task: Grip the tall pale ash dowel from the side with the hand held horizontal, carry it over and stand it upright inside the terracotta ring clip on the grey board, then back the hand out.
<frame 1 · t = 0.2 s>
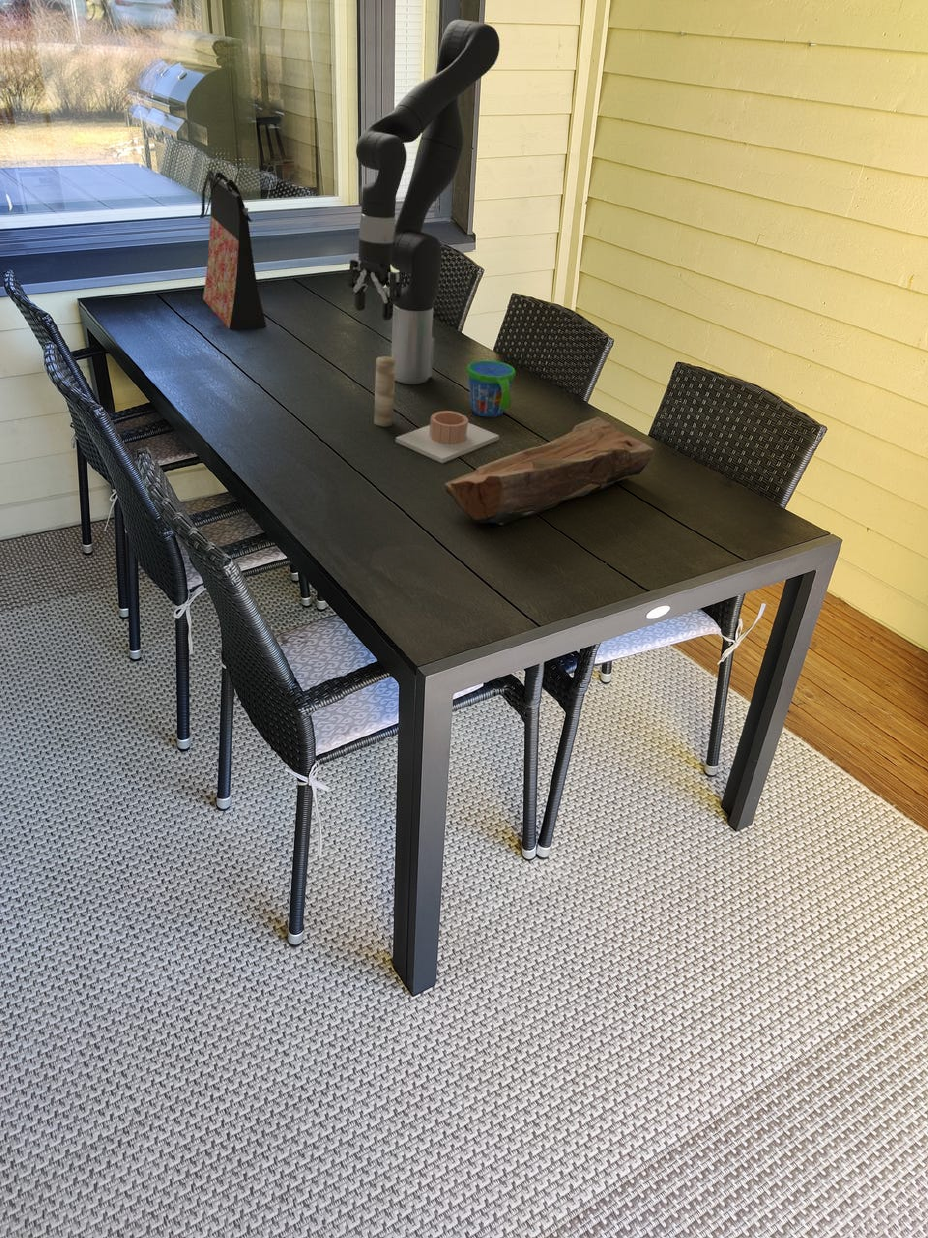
hand: (373, 314, 215), 18 cm above the table, tool pointing down, fingers open, 8 cm apart
stand board: (447, 440, 206), on the table
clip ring: (448, 436, 205), resting on stand board
ash dowel: (383, 422, 211), on the table
snack cup: (486, 412, 221), on the table
log: (545, 497, 189), on the table
gift bag: (233, 315, 261), on the table
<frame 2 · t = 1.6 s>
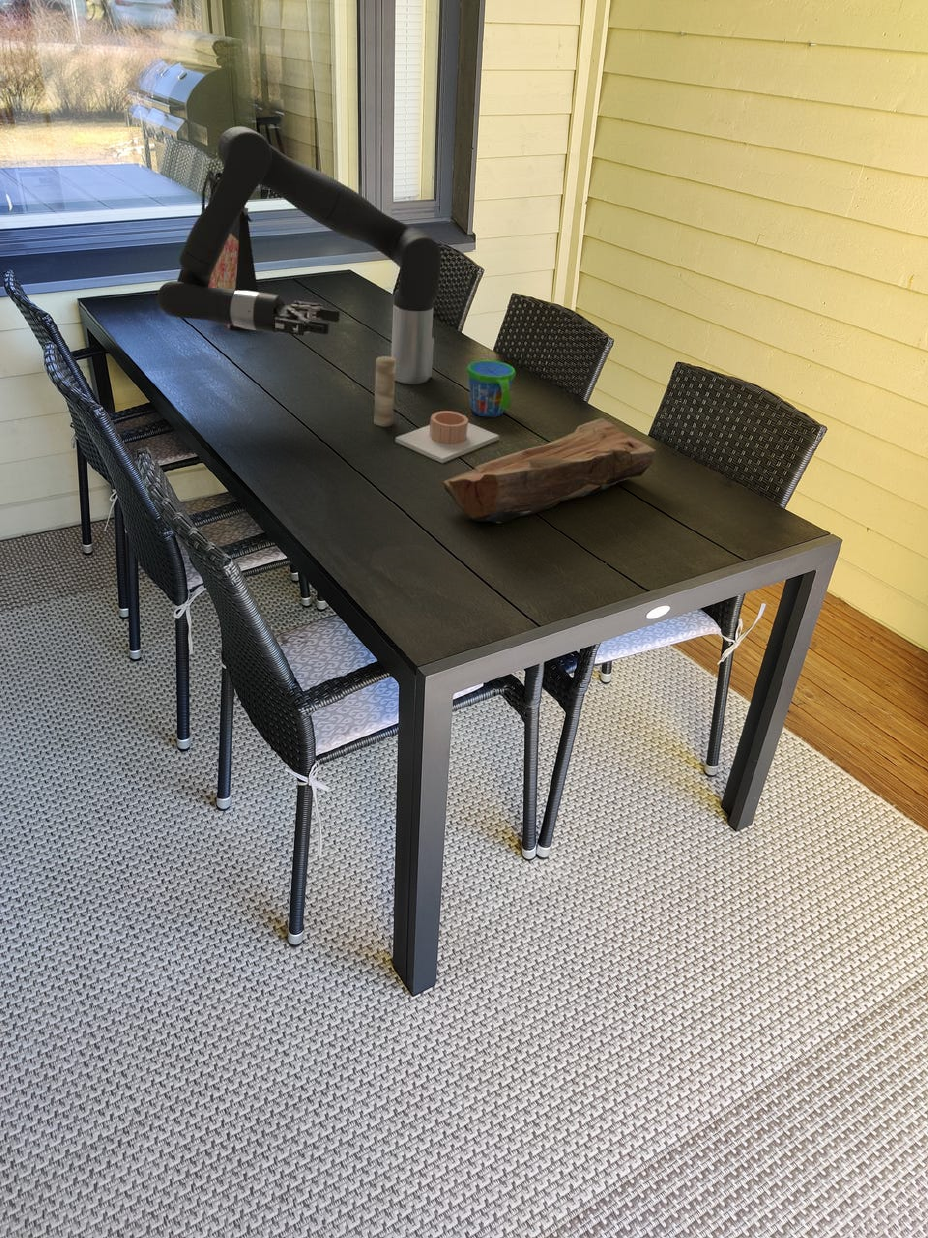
hand: (334, 322, 200), 20 cm above the table, tool horizontal, fingers open, 8 cm apart
nothing on the table moved.
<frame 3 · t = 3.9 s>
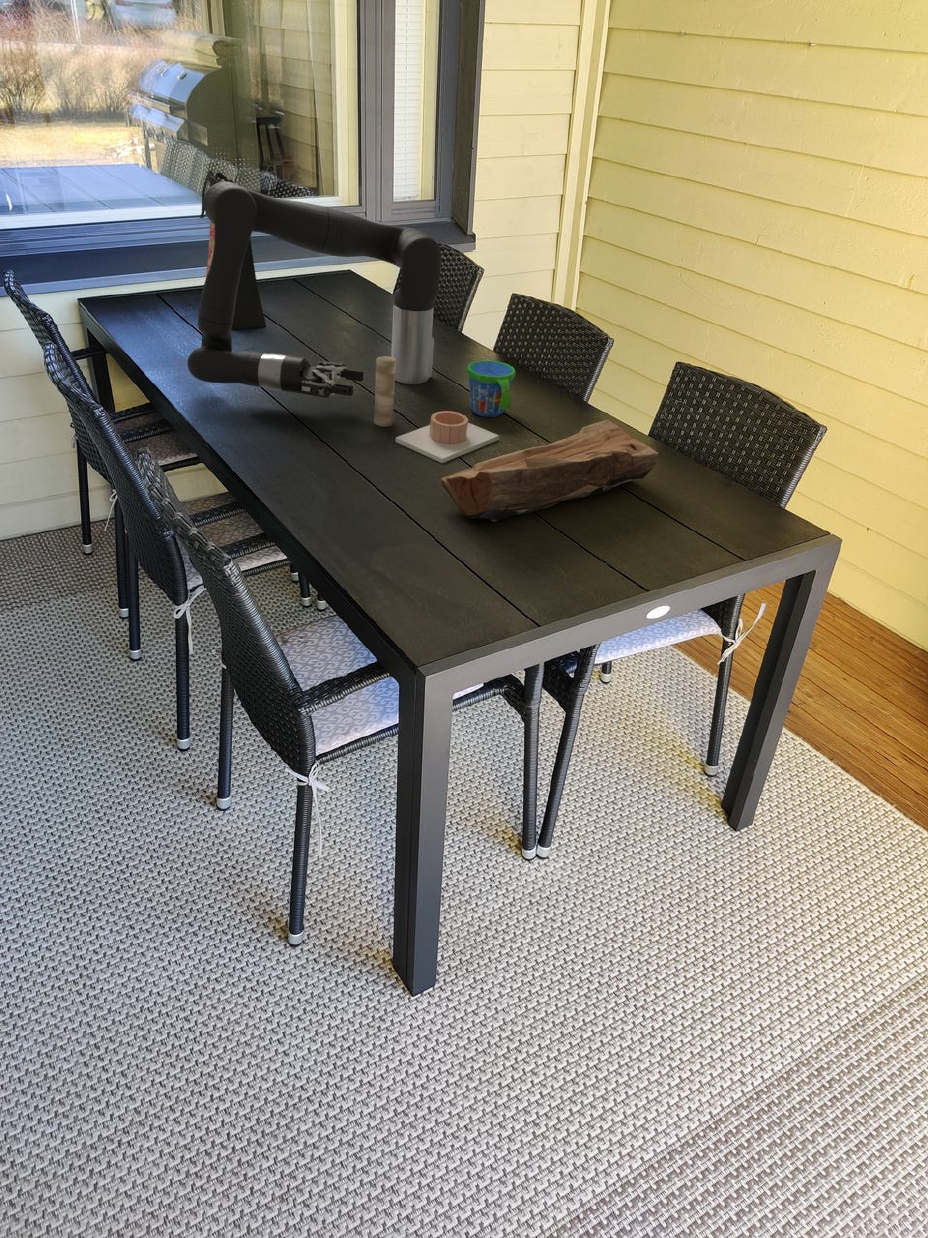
hand: (358, 383, 207), 8 cm above the table, tool horizontal, fingers open, 8 cm apart
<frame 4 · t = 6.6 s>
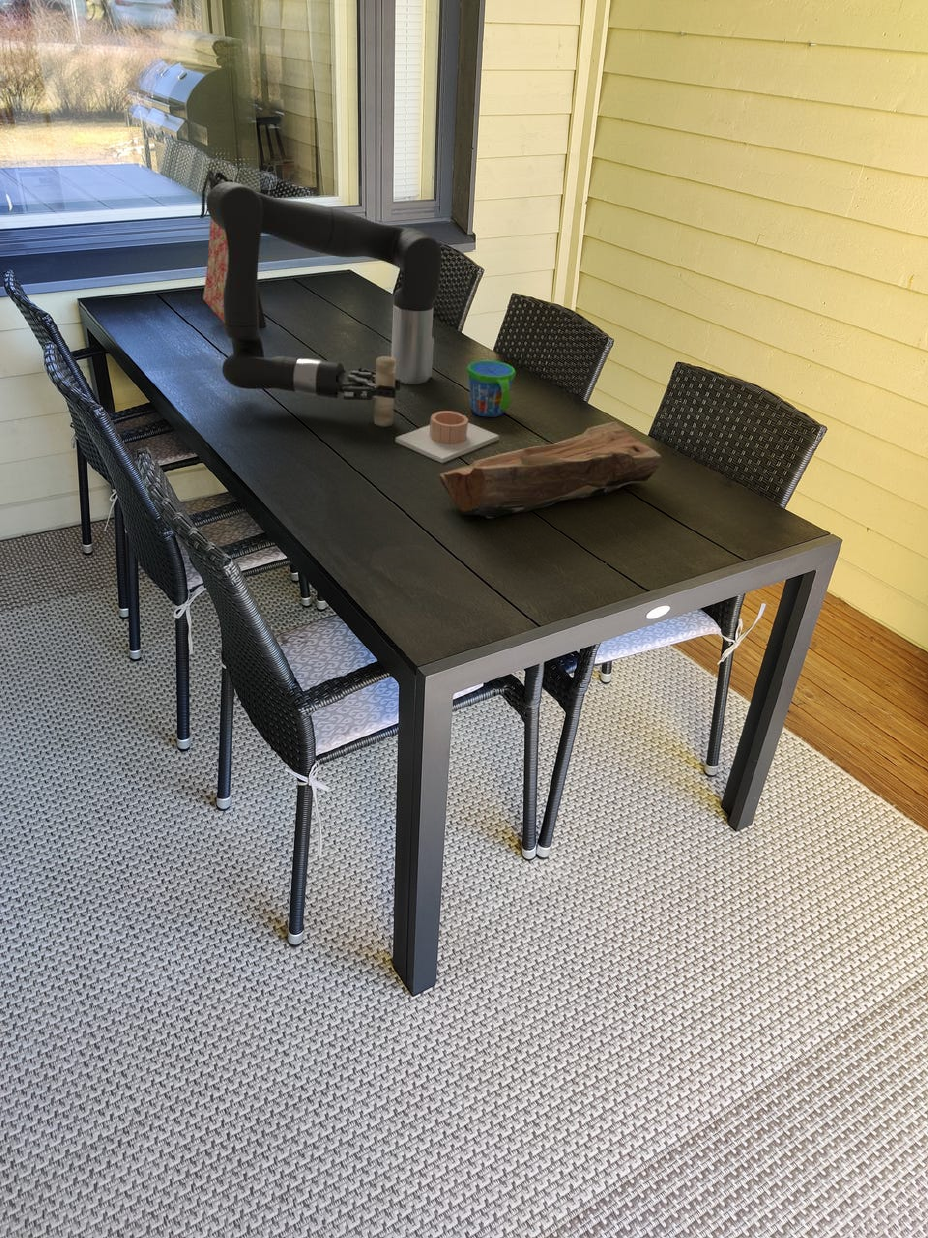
hand: (397, 388, 206), 8 cm above the table, tool horizontal, fingers closed on ash dowel, 4 cm apart
ash dowel: (383, 422, 211), on the table, touching gripper
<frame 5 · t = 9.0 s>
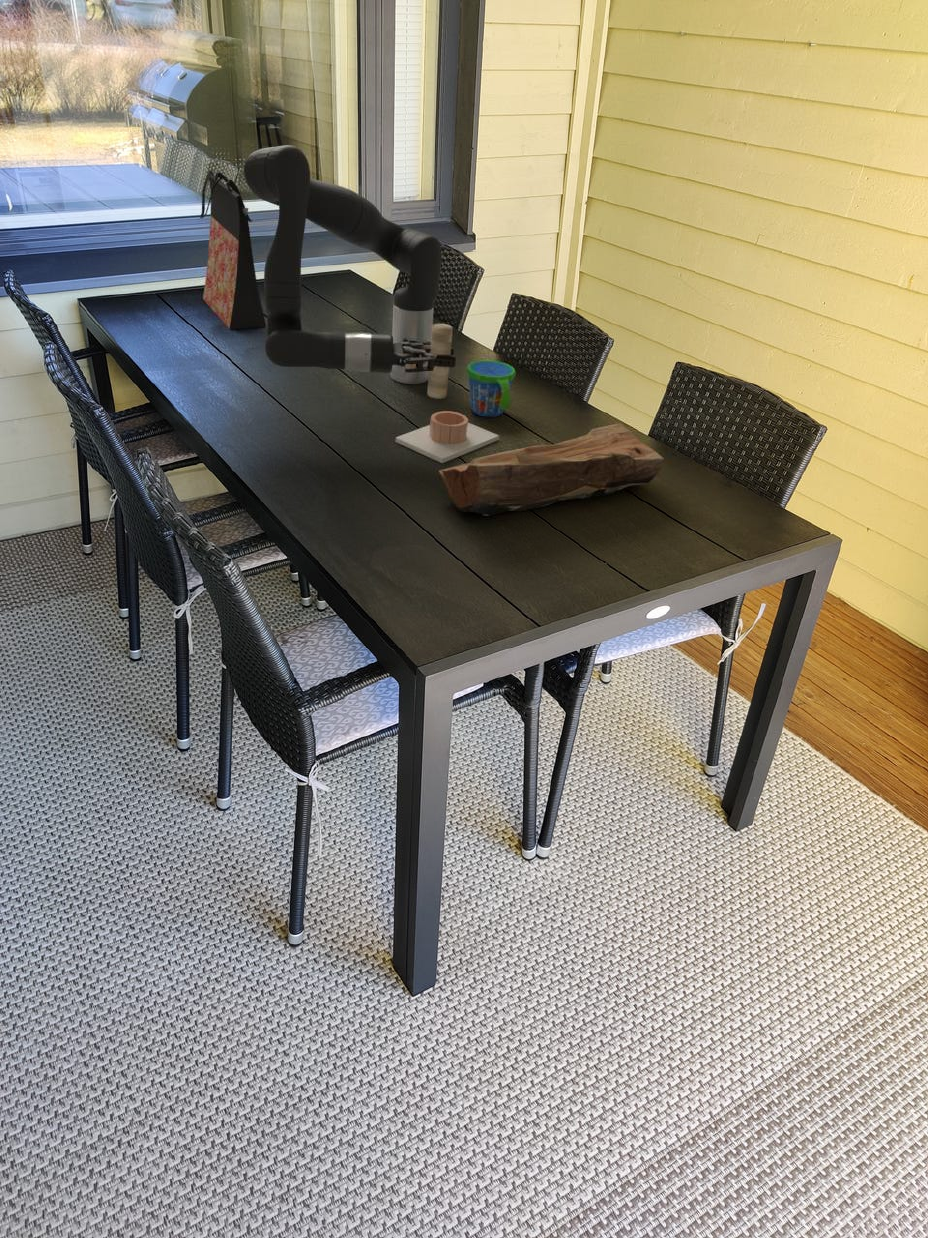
hand: (453, 357, 196), 18 cm above the table, tool horizontal, fingers closed on ash dowel, 4 cm apart
ash dowel: (436, 394, 200), point 10 cm above the table, touching gripper
when the fingers open (10 cm above the table, at t = 11.8 s): ash dowel drops 1 cm, resting on stand board.
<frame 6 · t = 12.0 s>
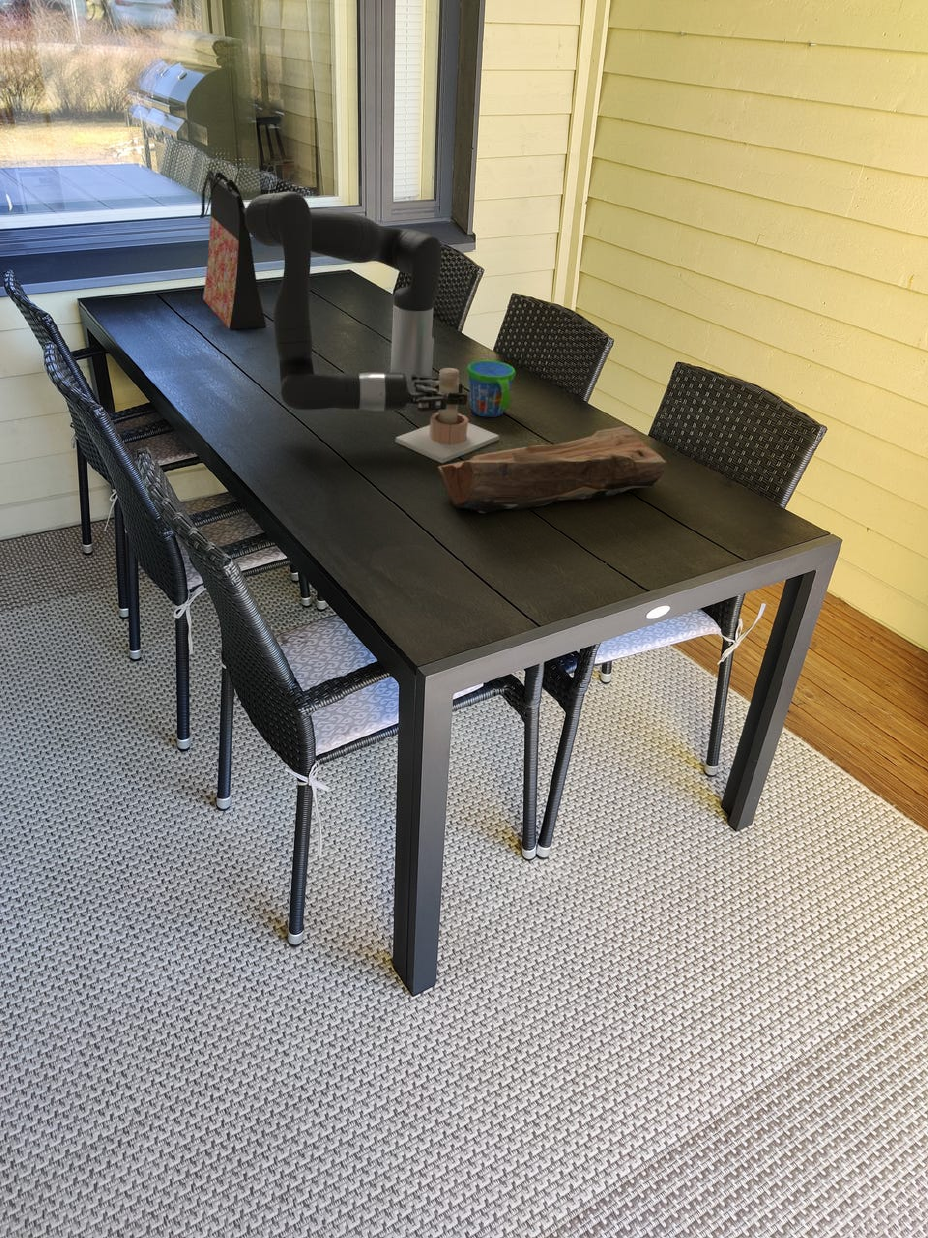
hand: (464, 393, 200), 10 cm above the table, tool horizontal, fingers open, 5 cm apart
ash dowel: (447, 436, 205), point 1 cm above the table, touching stand board
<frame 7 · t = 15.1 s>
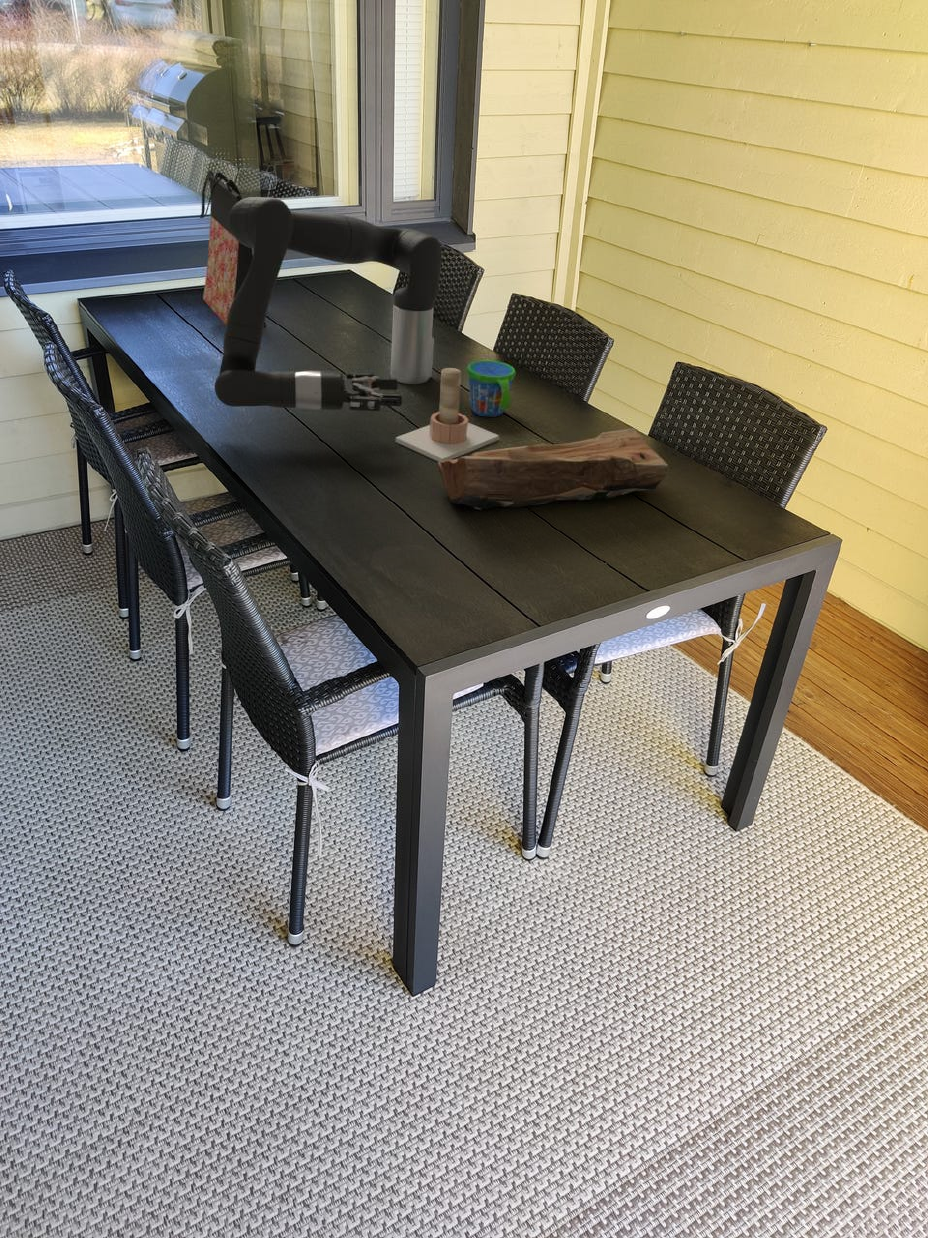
hand: (399, 392, 198), 11 cm above the table, tool horizontal, fingers open, 8 cm apart
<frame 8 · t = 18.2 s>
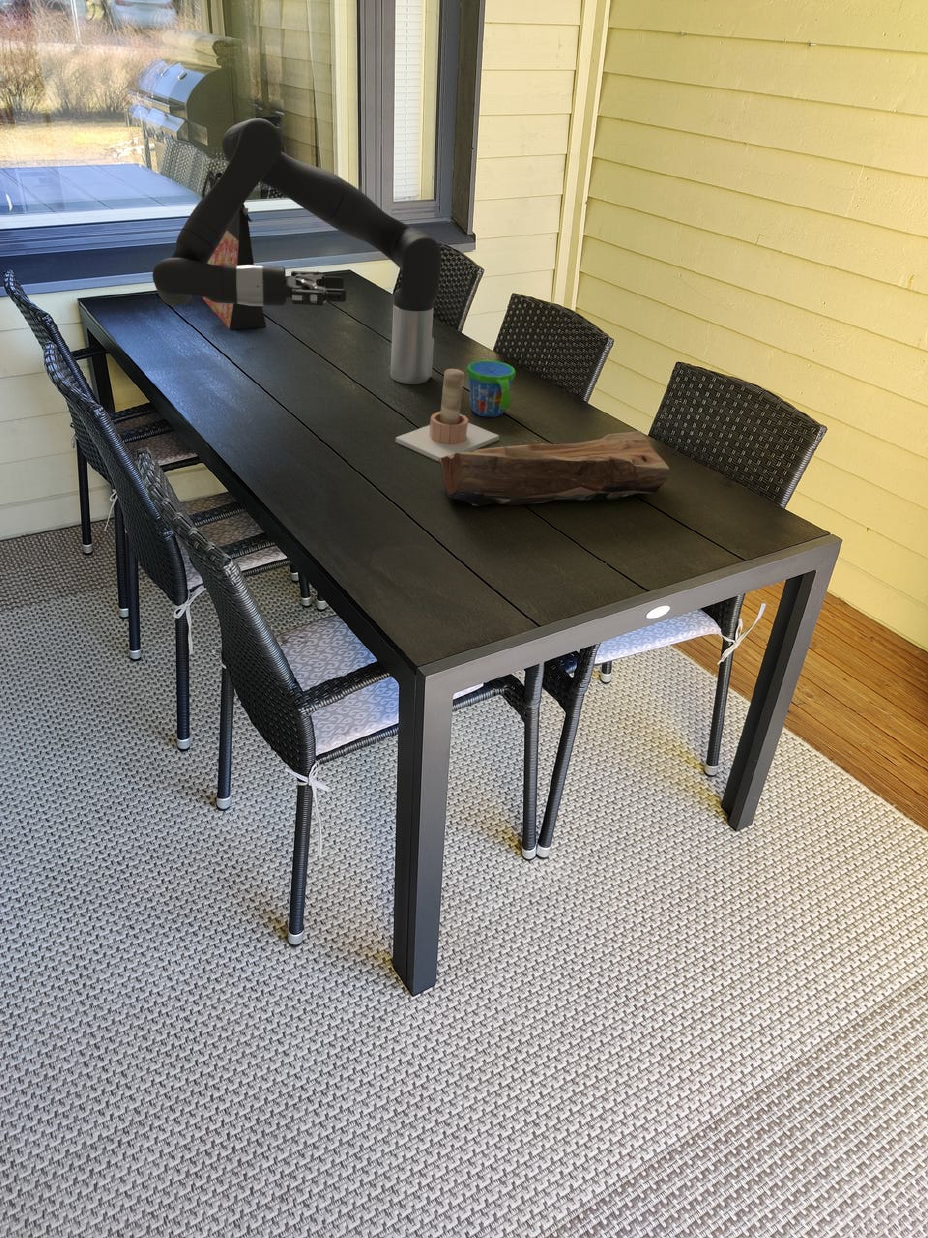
hand: (344, 288, 194), 28 cm above the table, tool horizontal, fingers open, 8 cm apart
at the end: ash dowel 0.1 cm off-centre on the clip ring, point 0.1 cm above the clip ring's base; ash dowel tilted 2°; the gripper is holding nothing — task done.
